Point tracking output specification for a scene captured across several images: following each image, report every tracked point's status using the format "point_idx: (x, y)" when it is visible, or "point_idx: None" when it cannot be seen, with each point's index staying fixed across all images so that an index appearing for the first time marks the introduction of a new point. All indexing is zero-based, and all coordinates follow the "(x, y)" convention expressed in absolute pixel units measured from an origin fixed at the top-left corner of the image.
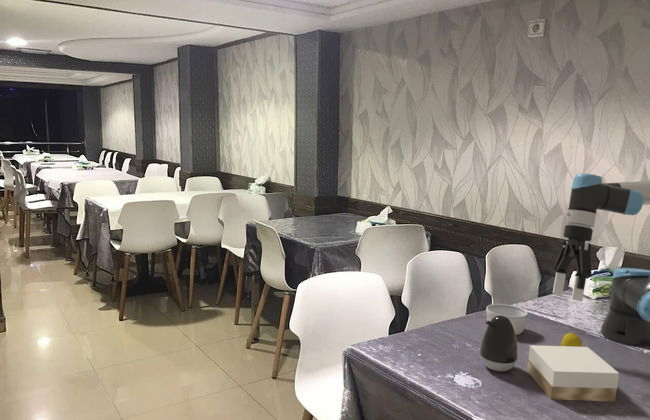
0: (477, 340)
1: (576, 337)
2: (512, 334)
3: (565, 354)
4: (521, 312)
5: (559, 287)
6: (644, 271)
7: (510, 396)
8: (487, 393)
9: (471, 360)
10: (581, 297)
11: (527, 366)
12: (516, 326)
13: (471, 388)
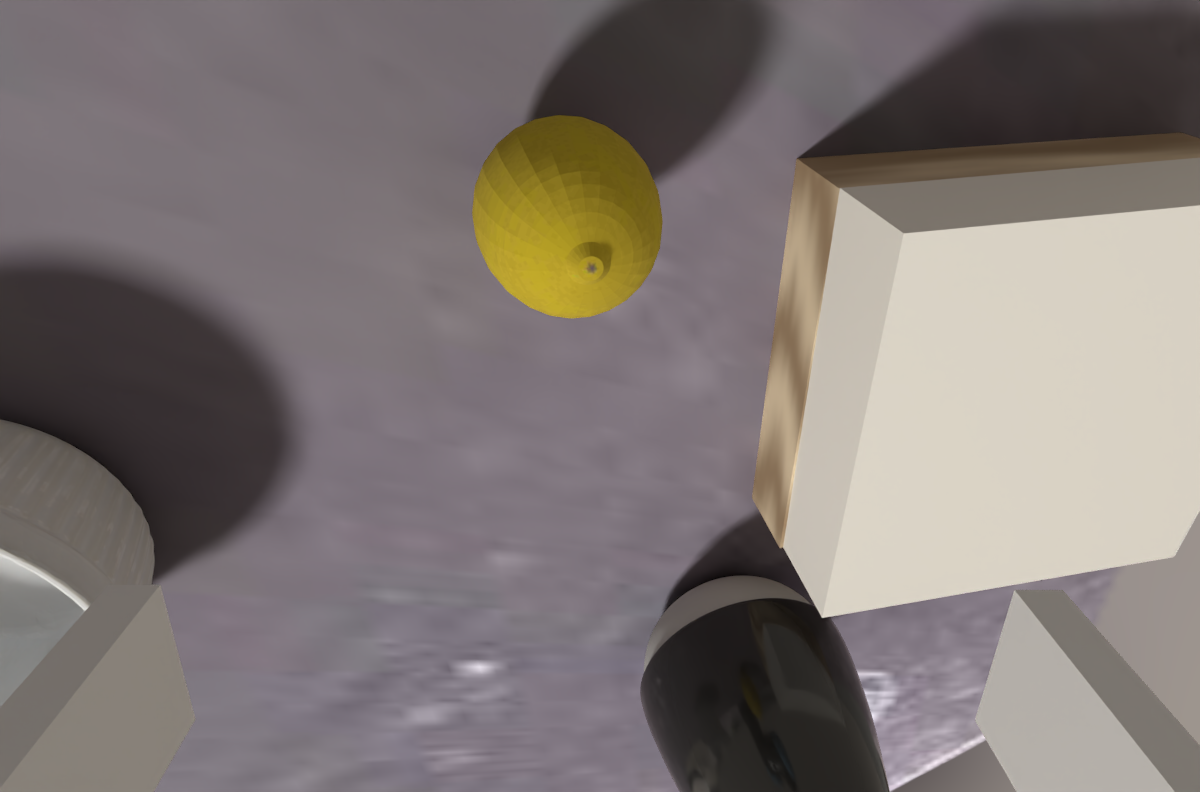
0: (339, 681)
1: (636, 233)
2: (881, 776)
3: (999, 449)
4: None
5: (102, 766)
6: None
7: (989, 591)
8: (948, 655)
9: (639, 700)
10: (1097, 656)
11: (764, 514)
12: (116, 536)
13: (901, 697)
